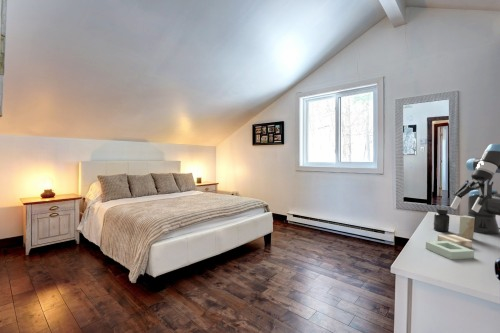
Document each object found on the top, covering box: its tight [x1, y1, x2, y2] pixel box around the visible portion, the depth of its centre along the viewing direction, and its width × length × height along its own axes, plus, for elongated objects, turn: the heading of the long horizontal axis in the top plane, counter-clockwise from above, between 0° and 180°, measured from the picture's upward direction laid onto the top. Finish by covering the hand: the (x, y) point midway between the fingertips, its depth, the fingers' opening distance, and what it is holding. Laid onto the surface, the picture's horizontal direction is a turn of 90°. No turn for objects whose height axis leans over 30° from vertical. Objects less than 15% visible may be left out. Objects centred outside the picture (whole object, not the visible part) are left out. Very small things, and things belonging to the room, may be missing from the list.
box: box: [458, 215, 475, 240], centre depth 128 cm, size 5×4×11 cm
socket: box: [425, 240, 475, 260], centre depth 108 cm, size 11×12×3 cm
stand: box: [437, 234, 473, 249], centre depth 119 cm, size 9×9×3 cm
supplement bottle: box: [433, 208, 450, 233], centre depth 141 cm, size 7×7×12 cm
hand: (463, 209), depth 125 cm, fingers open, 13 cm apart
